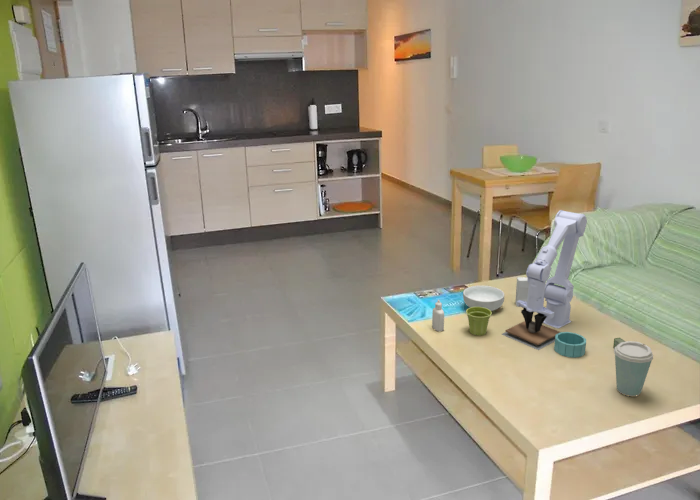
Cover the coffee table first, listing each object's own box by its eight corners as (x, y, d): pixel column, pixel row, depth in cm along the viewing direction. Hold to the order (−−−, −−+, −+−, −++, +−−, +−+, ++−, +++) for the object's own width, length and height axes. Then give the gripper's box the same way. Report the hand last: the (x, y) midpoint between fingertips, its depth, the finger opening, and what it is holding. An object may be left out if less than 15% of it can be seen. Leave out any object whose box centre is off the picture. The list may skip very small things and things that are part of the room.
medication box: (612, 348, 194) (613, 338, 193) (618, 347, 194) (620, 337, 193) (636, 365, 183) (637, 354, 182) (643, 363, 183) (644, 353, 182)
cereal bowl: (461, 299, 237) (462, 284, 235) (500, 300, 235) (501, 285, 233) (463, 316, 221) (464, 300, 219) (506, 317, 219) (507, 301, 217)
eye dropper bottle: (443, 325, 213) (444, 297, 210) (443, 332, 208) (444, 303, 204) (432, 325, 214) (432, 296, 210) (432, 331, 209) (433, 302, 205)
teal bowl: (564, 341, 199) (565, 329, 197) (590, 352, 191) (591, 339, 190) (548, 350, 193) (549, 337, 191) (574, 361, 185) (576, 348, 184)
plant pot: (462, 336, 205) (463, 315, 202) (467, 325, 213) (468, 305, 210) (488, 340, 201) (489, 318, 199) (492, 329, 210) (493, 308, 207)
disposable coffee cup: (629, 404, 161) (636, 359, 157) (600, 386, 171) (606, 343, 166) (655, 395, 165) (662, 351, 161) (625, 378, 175) (631, 336, 170)
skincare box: (529, 303, 231) (531, 277, 228) (531, 307, 227) (533, 280, 224) (514, 303, 232) (516, 276, 228) (516, 307, 228) (518, 280, 224)
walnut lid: (527, 320, 212) (528, 311, 211) (560, 333, 202) (561, 324, 200) (505, 331, 204) (506, 322, 203) (538, 345, 194) (538, 335, 192)
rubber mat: (526, 322, 214) (526, 322, 214) (563, 337, 202) (564, 336, 202) (501, 335, 205) (501, 334, 205) (538, 351, 193) (538, 350, 193)
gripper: (512, 292, 201) (510, 325, 206) (547, 304, 190) (543, 339, 195) (524, 287, 205) (521, 320, 210) (558, 299, 194) (555, 333, 199)
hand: (533, 329), depth 202 cm, fingers closed on walnut lid, 3 cm apart
